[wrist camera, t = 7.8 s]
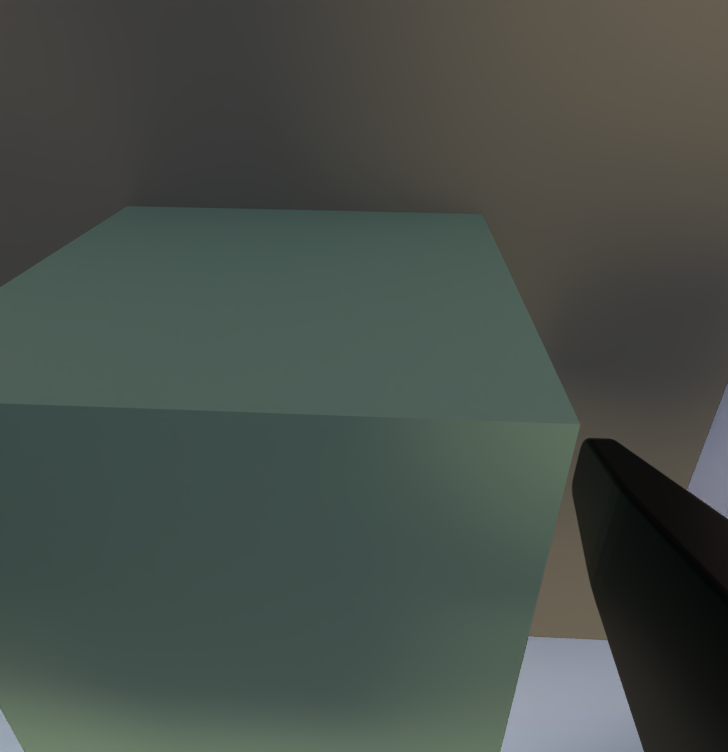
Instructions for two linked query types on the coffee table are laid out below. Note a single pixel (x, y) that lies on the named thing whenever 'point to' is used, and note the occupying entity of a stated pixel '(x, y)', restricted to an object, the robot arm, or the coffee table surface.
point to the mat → (421, 169)
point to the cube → (272, 484)
